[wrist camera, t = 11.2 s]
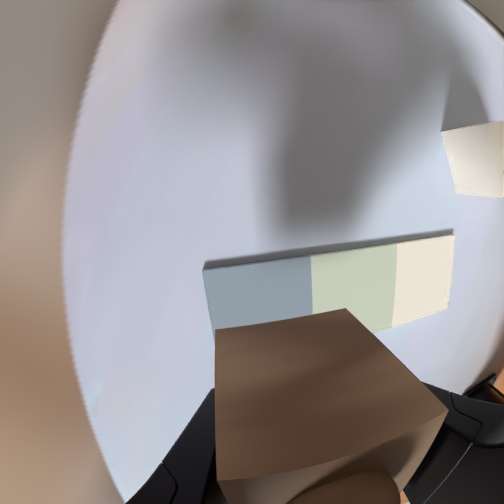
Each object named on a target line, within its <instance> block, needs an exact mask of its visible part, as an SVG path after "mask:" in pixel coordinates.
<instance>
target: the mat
mask: <svg viewBox="0 0 504 504" xmlns="http://www.w3.org/2000/svg"><path fill="white" fill-rule="evenodd" d="M454 239H455V235H452V234H451V235H444V236H438V237H431V238H425V239H418V240H412V241H405V242H398V243H391V244H385V245H378V246H371V247H364V248H357V249H350V250H343V251H336V252H329V253H322V254H314V255H307V256H300V257H292V258H285V259H278V260H270V261H263V262H255V263H247V264H240V265H232V266H224V267H216V268H208V269H203V270H202V272H203V279H204V285H205V291H206V297H207V303H208V308H209V314H210V319H211V325H212V330H213V335H214V341H215V329H223V328H231V327H238V326H246V325H253V324H259V323H266V322H272V321H278V320H285V319H290V318H296V317H302V316H307V315H313V314H318V313H323V312H328V311H333V310H338V309H343V308H346V309H347V310H348V311H349V312H350V313H352V314H353V315H354V316H355V317H356V318H357V319H358V320H359V321H360V322H361V323H362V324H363V325H364V326H365V327H366V328H367V329H368V330H369V331H370V332H371V333H374V332H378V331H381V330H385V329H388V328H392V327H395V326H398V325H401V324H404V323H408V322H411V321H414V320H417V319H420V318H423V317H425V316H428V315H431V314H434V313H437V312H439V311H442V310H445V309H447V307H448V300H449V294H450V286H451V278H452V268H453V256H454Z"/></svg>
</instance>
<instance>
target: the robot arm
mask: <svg viewBox="0 0 504 504" xmlns="http://www.w3.org/2000/svg"><path fill="white" fill-rule="evenodd" d="M496 377H497V375H496V374H495V373H494V374H493V375H492V376H490V377H489V378H488V379H486V380H485V381H483V382H482V383H481V384H479V385H478V386H476V387H475V388H473V389H472V390H471V391H469V392H467V393H466V394H465V395H464V396H462V395H459V394H456V393H453V392H449V391H447V390H444V389H441V388H438V387H435V386H433V385H430V384H427V383H424V382H422V381H421V382H422V383H423V384H424V385H425V386H426V387H427V388H428V389H429V390H430V391H431V392H432V393H433V394H434V395H435V396H436V397H437V398H438V399H439V400H440V401H441V402H442V403H443V404H444V405H445V407H446V408H447V409H448V410H449V411H448V413H447V415H446V417H445V419H444V421H443V423H442V425H441V427H440V429H439V431H438V433H437V435H436V437H435V439H434V441H433V443H432V444H431V446H430V448H429V450H428V451H427V453H426V455H425V457H424V458H423V460H422V461H421V463H420V465H419V466H418V468H417V469H416V471H415V473H414V474H413V476H412V477H411V479H410V480H409V481H408V483H407V484H406V486H405V487H404V489H403V491H404V493H405V495H406V497H407V498H408V500H409V502H410V504H504V394H502V393H501V392H500V391H499V390H498V389H496V388H495V387H494V386H493V384H494V382H495V380H496ZM162 463H163V464H162ZM162 463H160V464H159V466H158V467H157V469H156V470H155V471H154V473H153V474H152V475H151V477H150V478H149V479H148V480H147V482H146V483H145V484H144V485H143V486H142V487H141V488H140V489H139V490H138V491H137V493H136V494H135V495H134V496H133V497H132V498H131V499H130V500H129V501H128V502H126V503H125V504H228V502H227V500H226V498H225V496H224V494H223V492H222V490H221V488H220V486H219V484H218V482H217V470H216V439H215V388H213V389H211V390H210V392H209V393H208V395H207V396H206V398H205V399H204V401H203V402H202V404H201V405H200V407H199V408H198V410H197V411H196V413H195V414H194V416H193V417H192V419H191V420H190V422H189V423H188V425H187V426H186V428H185V429H184V431H183V432H182V433H181V435H180V436H179V438H178V439H177V441H176V442H175V444H174V445H173V446H172V448H171V449H170V451H169V452H168V453H167V455H166V456H165V458H164V459H163V461H162Z"/></svg>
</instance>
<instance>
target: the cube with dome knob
mask: <svg viewBox="0 0 504 504" xmlns="http://www.w3.org/2000/svg"><path fill="white" fill-rule="evenodd" d="M448 411H449V410H448V409H447V408H446V407H445V405H444V404H443V403H442V402H441V401H440V400H439V399H438V398H437V397H436V396H435V395H434V394H433V393H432V392H431V391H430V390H429V389H428V388H427V387H426V386H425V385H424V384H423V383H422V382H421V381H420V380H419V379H418V378H417V377H416V376H415V375H414V374H413V373H412V372H411V371H410V370H409V369H408V368H407V367H406V366H405V365H404V364H403V363H402V362H401V361H400V360H399V359H398V358H397V357H396V356H395V355H394V354H393V353H392V352H391V351H390V350H389V349H388V348H387V347H386V346H385V345H384V344H383V343H382V342H381V341H380V340H379V339H377V338H376V337H375V336H374V335H373V334H372V333H371V332H370V331H369V330H368V329H367V328H366V327H365V326H364V325H363V324H362V323H361V322H360V321H359V320H358V319H357V318H356V317H355V316H354V315H353V314H352V313H350V312H349V311H348V310H347V309H346V308H343V309H338V310H333V311H328V312H323V313H318V314H313V315H307V316H302V317H296V318H290V319H285V320H278V321H272V322H266V323H259V324H253V325H246V326H238V327H231V328H223V329H215V439H216V470H217V482H218V484H219V486H220V488H221V490H222V492H223V494H224V496H225V498H226V500H227V502H228V504H400V503H401V500H400V493H401V491H402V490H403V489H404V487H405V486H406V484H407V483H408V481H409V480H410V479H411V477H412V476H413V474H414V473H415V471H416V469H417V468H418V466H419V465H420V463H421V461H422V460H423V458H424V457H425V455H426V453H427V451H428V450H429V448H430V446H431V444H432V443H433V441H434V439H435V437H436V435H437V433H438V431H439V429H440V427H441V425H442V423H443V421H444V419H445V417H446V415H447V413H448Z"/></svg>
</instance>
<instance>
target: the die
mask: <svg viewBox="0 0 504 504" xmlns="http://www.w3.org/2000/svg"><path fill="white" fill-rule="evenodd" d="M441 135H442V138H443V142H444V145H445V149H446V152H447V156H448V160H449V164H450V168H451V172H452V176H453V181H454V186H455V191H456V194H465V195H476V196H485V197H494V198H503V197H504V121H497V122H489V123H482V124H476V125H470V126H465V127H460V128H456V129H451V130H447V131H442V132H441Z"/></svg>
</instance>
